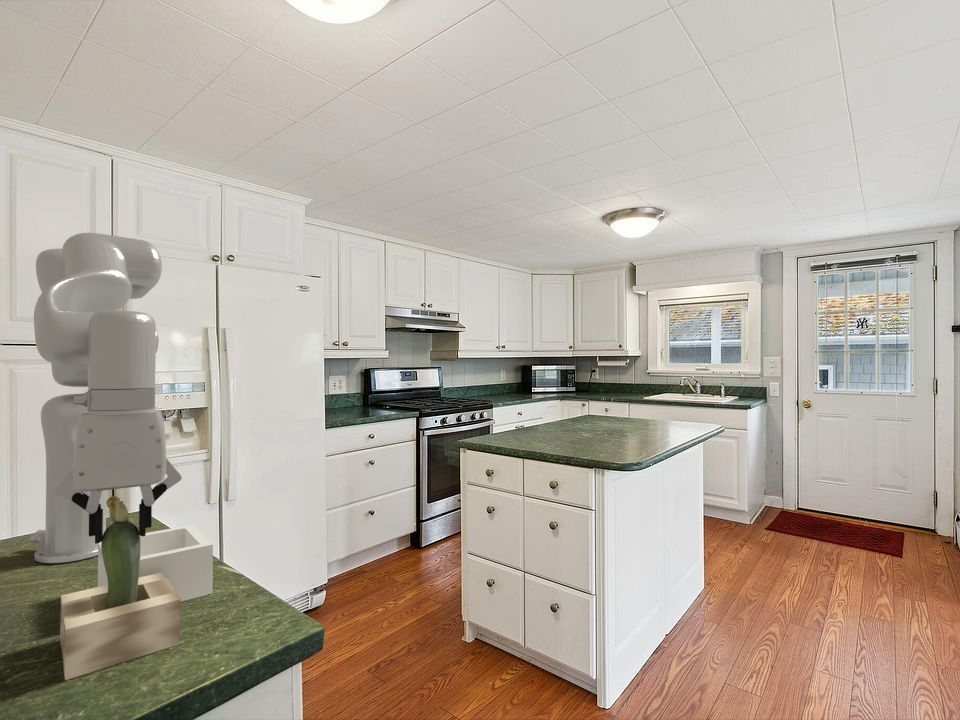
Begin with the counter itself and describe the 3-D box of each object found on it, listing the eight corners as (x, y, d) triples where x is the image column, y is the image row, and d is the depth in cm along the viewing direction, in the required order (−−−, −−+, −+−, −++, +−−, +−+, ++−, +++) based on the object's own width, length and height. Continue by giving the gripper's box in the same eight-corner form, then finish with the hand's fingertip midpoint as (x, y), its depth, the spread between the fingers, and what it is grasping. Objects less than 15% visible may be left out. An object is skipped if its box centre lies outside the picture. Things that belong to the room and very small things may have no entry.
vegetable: (133, 630, 72) (135, 488, 72) (144, 640, 69) (146, 493, 70) (95, 643, 69) (97, 494, 69) (104, 654, 66) (107, 499, 66)
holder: (65, 680, 60) (65, 629, 60) (60, 639, 69) (60, 595, 69) (180, 644, 68) (180, 599, 68) (162, 611, 77) (163, 572, 77)
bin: (107, 621, 74) (107, 566, 74) (97, 589, 85) (98, 541, 85) (212, 593, 84) (212, 544, 84) (192, 568, 94) (192, 524, 94)
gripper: (37, 406, 61) (35, 558, 61) (195, 401, 71) (194, 533, 71) (45, 402, 68) (43, 541, 67) (190, 398, 77) (189, 519, 77)
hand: (121, 535), depth 69 cm, fingers closed on vegetable, 4 cm apart
